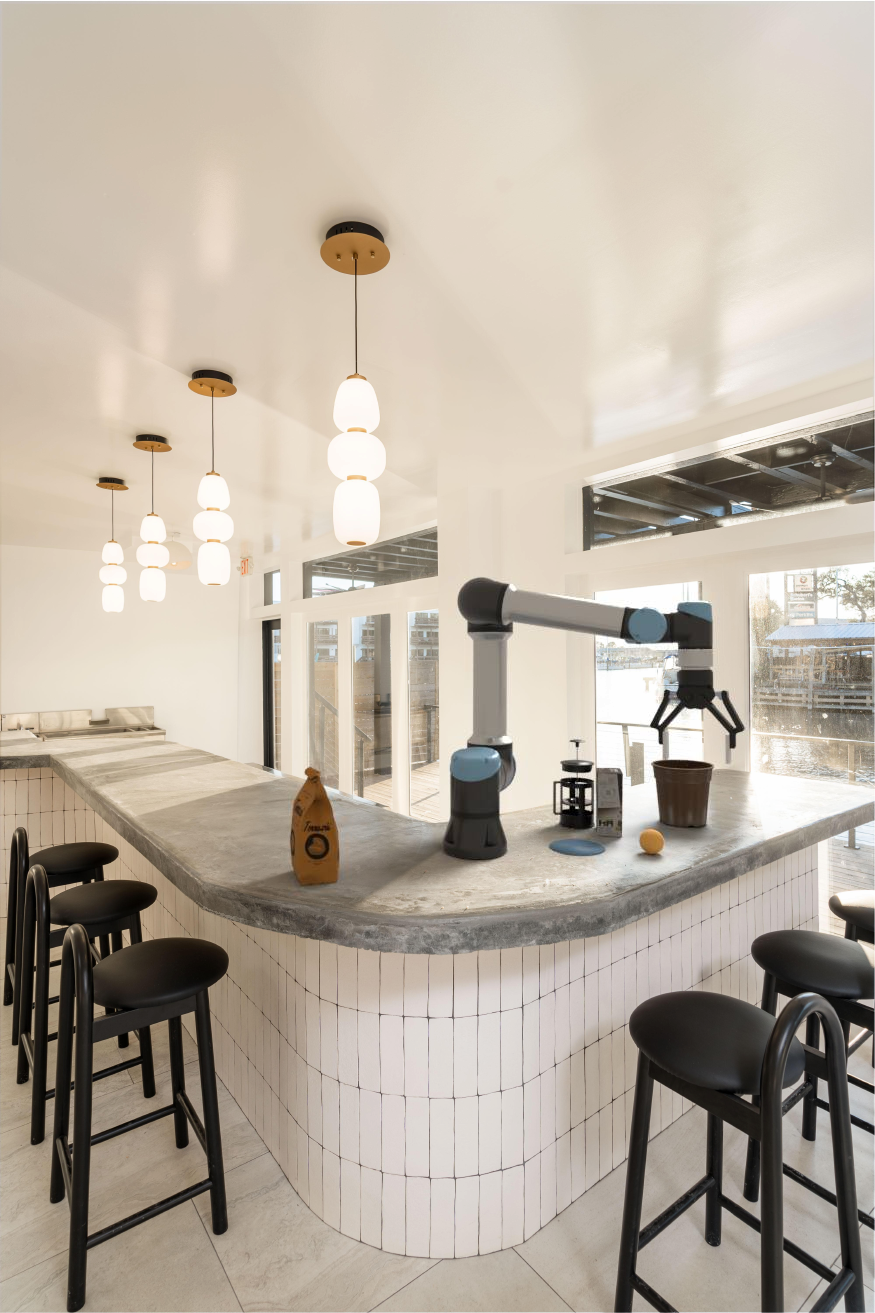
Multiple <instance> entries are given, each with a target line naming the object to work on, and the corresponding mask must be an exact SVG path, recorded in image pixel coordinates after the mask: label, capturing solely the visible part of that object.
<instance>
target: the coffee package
mask: <svg viewBox="0 0 875 1313" xmlns="http://www.w3.org/2000/svg"><path fill="white" fill-rule="evenodd" d="M304 769H305V770H304V775H305V776H306V777H307V778H306V780H305V782H304V784H303V785H302V786H301V788H300V790H299V792H297V795H296V797H295V798H294V800H293V804H292V806H293V807H292V813H291V814H292V815H291V823H290V824H291V826H290V835H289V844H290V845H289V846H290V847H289V848H290V860H291V865H292V868H293V871H294V874H295V875H296V877H297V879H298V880H299V883H300V884H301V885H302V886H308V885H312V886H313V885H314V886H315V885H322V884H332V883H333V884H334V883H337V882H338V878H339V868H340V840H339V830H338V826H337V823H336V821H335V817H334V811H333V806H332V804H331V800H330V798H329V797H328V793H327V791H326V788H325V785H324V784H323V783H322V780H321V775H322V774H321V772H322V771H320V770H317V769H316V768H314V767H312V766H308V767H306V768H304Z"/></svg>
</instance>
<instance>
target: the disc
mask: <svg viewBox="0 0 875 1313" xmlns="http://www.w3.org/2000/svg"><path fill="white" fill-rule="evenodd" d="M549 848H550V849H551V850H552V851H554V852H556V851H557V853H559V852H560V854H563V853H564V854H563V855H568V854H569V856H570V855H571V856H578V855H579V857H580V856H581V857H582V856H585V857H586V856H588V857H589V856H595V855H599V854H602V853H604V852H605V851H606V847H605V846H604V845H603V844H601V843H599V842H596V841H593V840H590V839H588V840H587V839H583V838H581V839H580V838H562V839H557V840H556V839H555V840H553V841H551V842H550V843H549Z"/></svg>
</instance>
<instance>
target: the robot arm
mask: <svg viewBox="0 0 875 1313" xmlns="http://www.w3.org/2000/svg"><path fill="white" fill-rule="evenodd" d="M676 607H677V608H676V610H670V611H660V610H659V609H657V608H655V607H649V606H644V607H643V606H635V605H626V604H622V603H621V604H620V603H614V602H607V601H601V600H600V601H599V600H595V599H594V600H592V599H587V598H585V599H584V598H579V597H572V596H566V595H565V596H564V595H558V594H552V593H546V592H545V593H544V592H537V591H530V590H524V589H523V590H522V589H517V588H516V587H515V586H514V585H513V584H512V583H506V582H501V581H497V580H494V579H491V578H489V577H483V576H481V577H474V578H471V579H470V580H468V581H466V582H465V583H464V584H463V585H462V586H461V588H460V590H459V592H458V594H457V608H458V611H459V613H460V614H461V616H462V617H463V618H464V619H465V621H467V623H466V624H467V626H466V627H467V629H466V631H467V632H466V633H467V635H468V636H469V637H470V638H471V639H472V641H473V642H472V643H473V644H472V651H473V652H472V653H473V654H472V655H473V656H472V659H473V660H472V665H473V666H472V667H473V668H472V670H473V671H472V735H471V736H469V738H467V740H466V748H460V749H457V750H456V751H454V752H453V753H452V754H451V757H450V764H449V773H450V775H449V777H450V780H449V783H450V784H449V786H450V790H449V791H450V796H449V797H450V798H449V799H450V803H449V804H450V809H449V810H450V812H449V813H450V815H449V820H448V823H447V826H446V830H445V833H444V836H443V839H442V851H443V853H445V854H447V855H448V856H452V857H455V858H459V859H467V860H487V859H488V860H489V859H493V858H498V857H501V856H503V855H505V854H506V853H507V852H508V841H507V837H506V834H505V830H504V827H503V824H502V820H501V817H500V816H501V815H500V808H501V806H500V803H501V801H500V800H501V794H500V793H501V792H503V791H505V790H506V789H508V787H509V786H510V785H511V783H512V782H513V781H514V779H515V776H516V773H517V761H516V758H515V756H514V753H513V752H514V751H513V750H514V748H513V745H514V744H513V743H514V742H513V739H511V738H510V737H509V735H508V733H507V731H508V729H507V728H508V726H507V725H508V723H507V722H508V720H507V719H508V718H507V717H508V716H507V715H508V714H507V713H508V706H507V704H508V701H507V700H508V696H507V695H508V691H507V690H508V670H507V669H508V641H509V638H511V637H512V635H513V634H514V623H518V624H524V625H529V626H537V627H542V628H548V629H549V628H550V629H556V630H560V631H568V632H576V633H582V634H588V635H595V636H600V637H601V636H602V637H608V638H612V639H613V638H614V639H620V640H624V641H625V642H626V644H629V645H630V644H631V645H632V644H633V645H648V644H650V645H653V644H655V645H656V644H657V645H658V644H677V667H678V668H680V669H679V670H678V671H677V684H678V686H677V690H674V689H673V690H672V689H671V688H667V689H665V690H663V697H662V700H661V702H660V704H659V707H658V708H657V710H656V711H655V714H654V717H653V718H652V720H651V722H650V724H649V726H650V728H651V729H655V730H657V733H658V741H657V742H658V745H662V760H669V759H670V736H669V735H670V734H669V733H670V732H669V730H666V729H667V728H668V726H669V725H670V724H672V722H673V721H674V720H675V719H676V718H677V717H678V715H679V714H680V713H681V712H682V711H683V710H684V709H685V708H686V709H688V710H695V709H696V710H704V709H707V711H708V712H710V713H711V714H712V715H713V717H714V718H715V719H716V720H717V721H718V722H719V724H720V725H721V726H722V727H723V728H724V729H725V730H726V731H727V732H728V733H726V734H725V735H724V736H725V764H726V765H730V764H731V763H732V750H734V749H736V748H737V734H738V733H739V734H740V733H743V732H744V731H745V729H746V727H745V726H744V724H743V721H742V720H741V718H740V716H739V714H738V713H737V711H736V708H735V707H734V705H733V704H732V702H731V700H730V693H729V690H727V689H723V690H717V691H716V690H715V689H714V671H713V669H711V668H713V666H714V654H713V652H714V648H713V647H714V646H713V645H714V644H713V643H714V642H713V640H714V639H713V636H714V635H713V634H714V629H713V628H714V626H713V625H714V624H713V623H714V622H713V621H714V620H713V609H712V608H713V607H712V604H711V603H710V602H709V601H706V600H693V601H692V600H691V601H680V602H679V603H678V604H677V606H676ZM675 696H676V698H678V700H679V701H680V702H679V703H678V704H677V705H676V706H675V707H674V709H673V710H672V711H671V712H670V714H668V715H667V717H666V718H665V719H664V720H663V721H662V722H661V719H662V717H663V716H664V714H665V712H666V710H667V707H668V706H669V704H670V702H671V700H672V699H674V697H675ZM715 697H717V698H718V700H719V701H721V702H722V703H723V706H724V707H725V709H726V712H727V713H728V715H729V717H730V718H731V720H732V722H733V724H734V726H735V727H734V726H733V725H732V723H731V722H730V721H729V720H728V719H727V718H726V717H725V716H724V714H723V713H722V712H721V711H720V710H719V709H718V707H717V706H716V705H715V704H714V702H713V700H714V699H715ZM660 722H661V723H660Z"/></svg>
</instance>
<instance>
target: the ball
mask: <svg viewBox="0 0 875 1313" xmlns="http://www.w3.org/2000/svg"><path fill="white" fill-rule="evenodd" d="M639 846H640V848H641V849H642V851H644V852H645V853H647V854H651V855H655V854H658V853H660V852H661V851H662V850H663V848H664V846H665V839H664V836H663V835H662V834H661V833H660V831H658V830H656V829H652V828H650V829H649V828H648V829H645V830H643V832H642V833H641V834H640V836H639Z"/></svg>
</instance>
